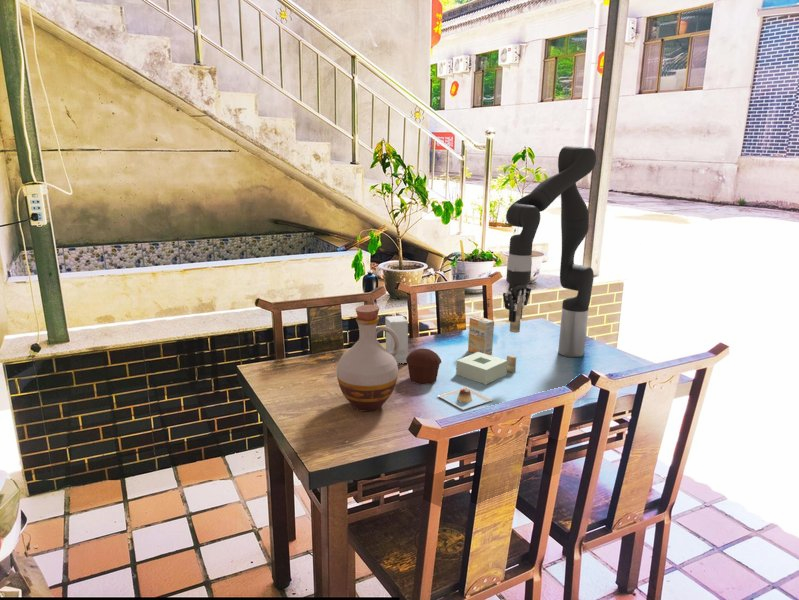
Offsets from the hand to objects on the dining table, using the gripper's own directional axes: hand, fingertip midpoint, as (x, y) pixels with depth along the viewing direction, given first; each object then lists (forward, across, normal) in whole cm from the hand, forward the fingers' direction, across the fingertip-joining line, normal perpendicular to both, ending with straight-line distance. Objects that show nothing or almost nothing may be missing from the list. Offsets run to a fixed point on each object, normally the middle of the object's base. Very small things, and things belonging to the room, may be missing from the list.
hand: (515, 320), depth 194 cm
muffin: (+20, +21, -20) cm, 36 cm away
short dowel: (+20, -5, -3) cm, 21 cm away
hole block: (+20, +5, -9) cm, 22 cm away
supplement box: (+20, -13, -21) cm, 32 cm away
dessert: (+21, +25, -1) cm, 32 cm away
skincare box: (+20, +15, -38) cm, 45 cm away
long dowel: (+4, 0, 0) cm, 4 cm away
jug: (+21, +47, -19) cm, 55 cm away
